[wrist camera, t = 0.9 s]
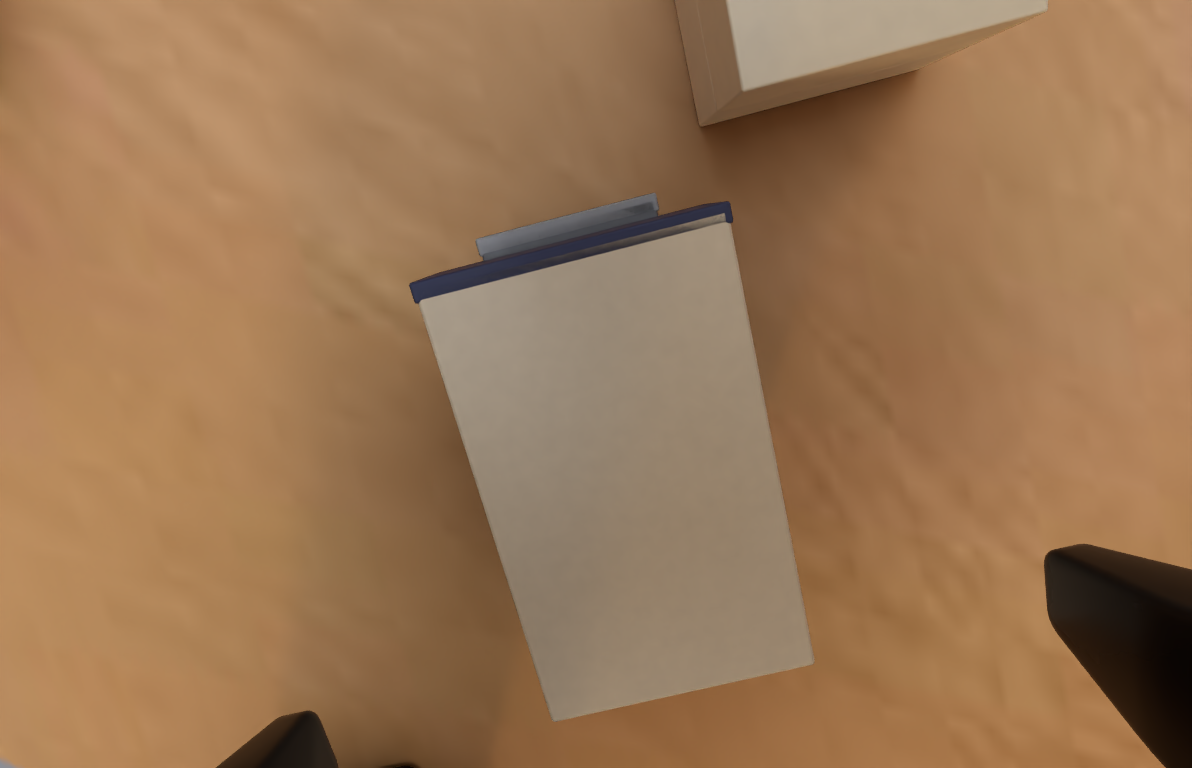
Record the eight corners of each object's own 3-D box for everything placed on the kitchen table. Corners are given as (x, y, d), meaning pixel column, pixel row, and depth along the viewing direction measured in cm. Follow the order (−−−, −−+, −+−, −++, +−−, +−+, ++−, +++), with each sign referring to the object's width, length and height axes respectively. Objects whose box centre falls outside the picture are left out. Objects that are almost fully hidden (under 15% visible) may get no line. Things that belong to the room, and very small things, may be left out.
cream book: (555, 652, 17) (549, 724, 14) (437, 272, 14) (407, 284, 12) (784, 599, 17) (819, 665, 14) (705, 203, 14) (729, 200, 12)
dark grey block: (595, 577, 21) (596, 659, 17) (498, 234, 18) (474, 239, 14) (719, 548, 21) (750, 625, 17) (640, 198, 18) (655, 192, 14)
